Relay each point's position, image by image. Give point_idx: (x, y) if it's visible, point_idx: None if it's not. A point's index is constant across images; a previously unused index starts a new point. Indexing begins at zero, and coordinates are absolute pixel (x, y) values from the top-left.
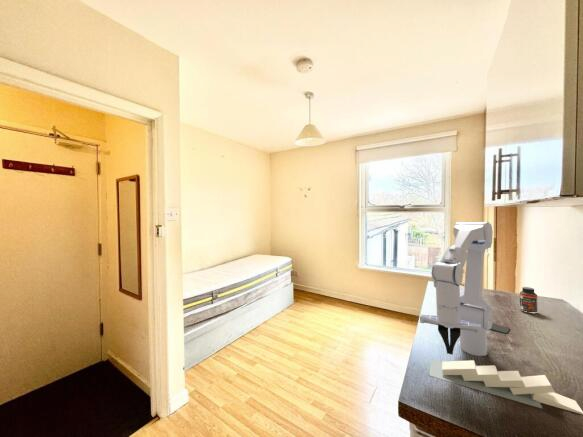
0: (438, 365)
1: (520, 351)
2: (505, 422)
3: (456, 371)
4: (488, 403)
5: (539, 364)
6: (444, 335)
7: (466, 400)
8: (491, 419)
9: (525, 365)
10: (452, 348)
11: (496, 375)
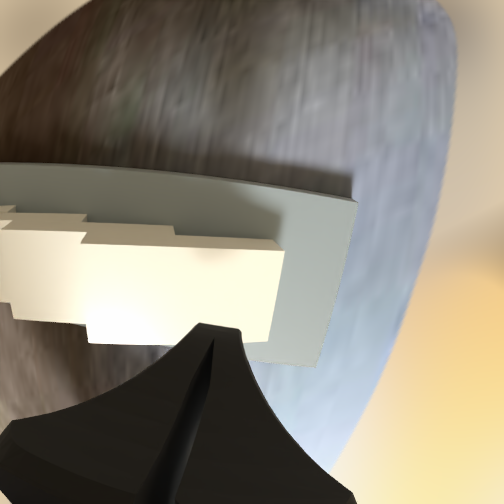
0: (288, 327)
1: None
2: (85, 35)
3: (200, 243)
4: (106, 119)
5: (3, 412)
6: (254, 460)
7: (193, 91)
8: (126, 21)
9: (20, 407)
10: (182, 347)
11: (10, 229)
